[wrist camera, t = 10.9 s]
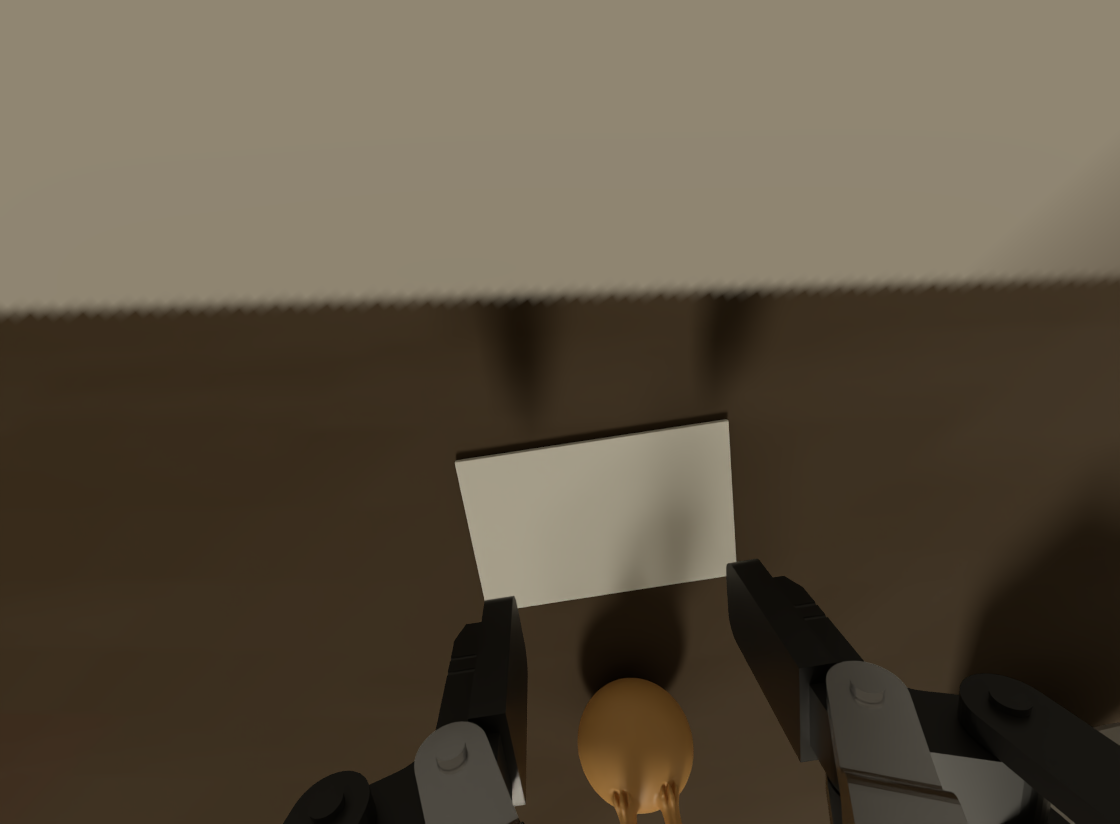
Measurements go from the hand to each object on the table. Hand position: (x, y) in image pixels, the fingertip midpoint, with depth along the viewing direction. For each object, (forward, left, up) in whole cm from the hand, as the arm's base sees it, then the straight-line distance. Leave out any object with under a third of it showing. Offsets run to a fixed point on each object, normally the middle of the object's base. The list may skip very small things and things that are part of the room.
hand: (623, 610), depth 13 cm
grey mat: (0, 0, -5) cm, 5 cm away
